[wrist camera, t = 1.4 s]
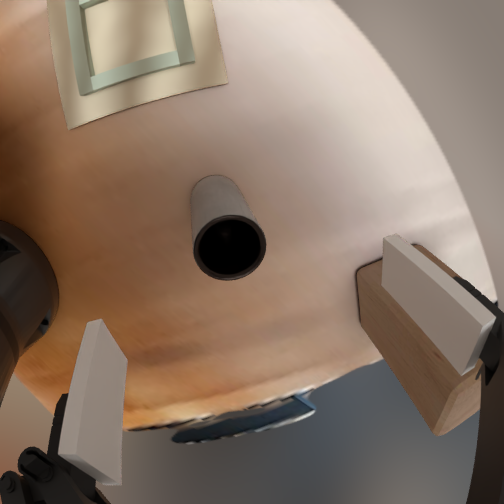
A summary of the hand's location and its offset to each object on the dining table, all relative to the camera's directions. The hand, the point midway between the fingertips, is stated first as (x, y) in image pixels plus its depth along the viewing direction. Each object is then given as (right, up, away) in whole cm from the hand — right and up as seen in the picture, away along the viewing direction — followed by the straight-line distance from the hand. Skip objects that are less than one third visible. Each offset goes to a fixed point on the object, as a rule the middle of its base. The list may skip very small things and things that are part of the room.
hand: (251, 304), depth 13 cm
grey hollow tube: (-3, +7, +15) cm, 17 cm away
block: (+18, -2, +24) cm, 30 cm away
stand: (-10, +21, +6) cm, 24 cm away
